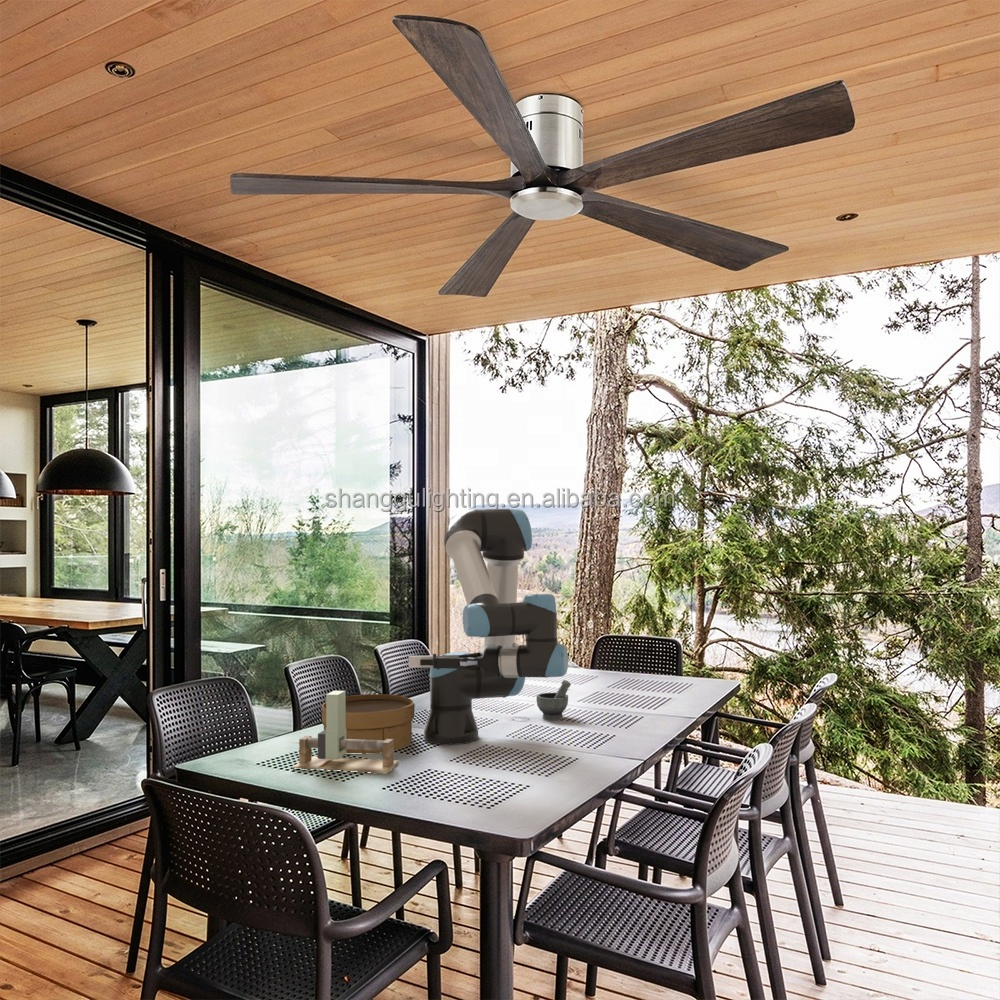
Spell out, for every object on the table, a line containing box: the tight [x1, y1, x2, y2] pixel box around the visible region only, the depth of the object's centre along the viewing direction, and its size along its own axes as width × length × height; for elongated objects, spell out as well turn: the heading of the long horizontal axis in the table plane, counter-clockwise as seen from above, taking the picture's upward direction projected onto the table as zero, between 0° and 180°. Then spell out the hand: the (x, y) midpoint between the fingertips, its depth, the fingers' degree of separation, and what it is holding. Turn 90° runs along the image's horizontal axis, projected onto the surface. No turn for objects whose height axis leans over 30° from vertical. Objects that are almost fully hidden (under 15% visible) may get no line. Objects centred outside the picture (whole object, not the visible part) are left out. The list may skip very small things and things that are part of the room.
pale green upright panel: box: [325, 690, 347, 760], centre depth 197 cm, size 3×6×16 cm, turn 169°
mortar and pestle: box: [536, 679, 572, 721], centre depth 247 cm, size 11×9×12 cm
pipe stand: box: [292, 735, 400, 775], centre depth 197 cm, size 24×9×7 cm, turn 79°
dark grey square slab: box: [317, 729, 326, 759], centre depth 198 cm, size 2×6×6 cm, turn 169°
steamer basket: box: [321, 693, 416, 755], centre depth 220 cm, size 25×25×11 cm
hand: (409, 661), depth 196 cm, fingers closed
